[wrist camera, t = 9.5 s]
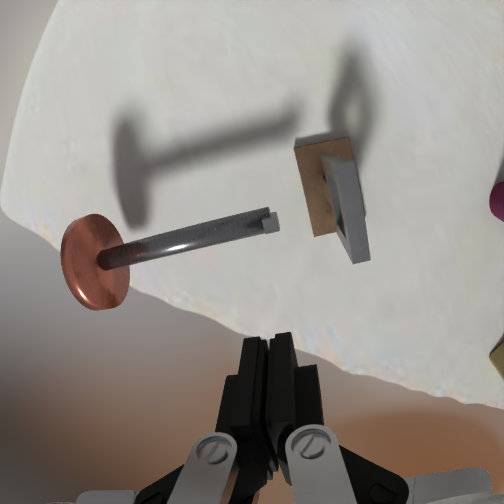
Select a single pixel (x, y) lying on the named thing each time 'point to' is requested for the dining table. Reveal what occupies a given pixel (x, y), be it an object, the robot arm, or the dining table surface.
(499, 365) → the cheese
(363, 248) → the eye post
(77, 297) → the copper disc on rod
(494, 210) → the cup
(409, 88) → the dining table surface
